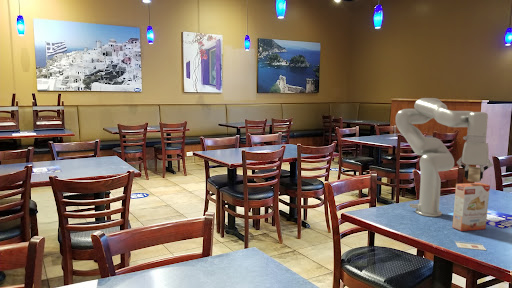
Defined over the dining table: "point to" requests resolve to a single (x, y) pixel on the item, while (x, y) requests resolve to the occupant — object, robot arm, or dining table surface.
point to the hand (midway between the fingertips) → (473, 179)
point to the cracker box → (470, 206)
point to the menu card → (469, 245)
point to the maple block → (474, 174)
